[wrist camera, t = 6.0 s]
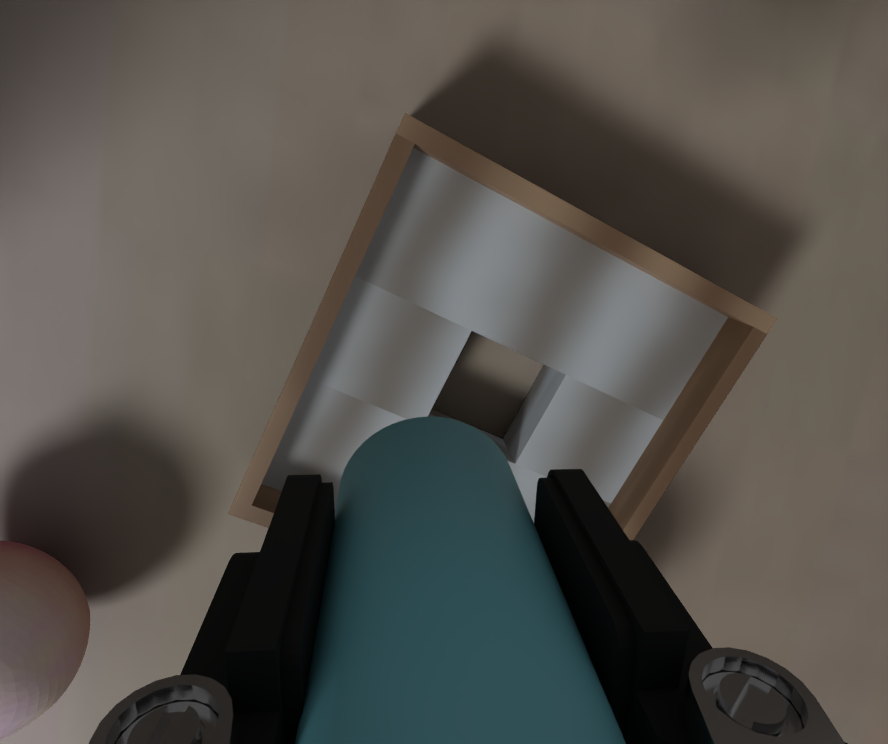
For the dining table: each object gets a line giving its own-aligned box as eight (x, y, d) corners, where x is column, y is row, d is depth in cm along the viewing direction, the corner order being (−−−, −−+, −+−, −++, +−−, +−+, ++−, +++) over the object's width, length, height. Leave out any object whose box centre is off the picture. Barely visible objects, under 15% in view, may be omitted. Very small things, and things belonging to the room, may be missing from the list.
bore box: (250, 462, 31) (227, 514, 26) (399, 125, 26) (405, 112, 22) (546, 571, 35) (573, 632, 30) (715, 297, 31) (777, 318, 26)
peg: (334, 417, 11) (-15, 1860, 2) (519, 415, 11) (1169, 1592, 2) (341, 576, 12) (164, 1966, 3) (510, 569, 12) (885, 1794, 3)
